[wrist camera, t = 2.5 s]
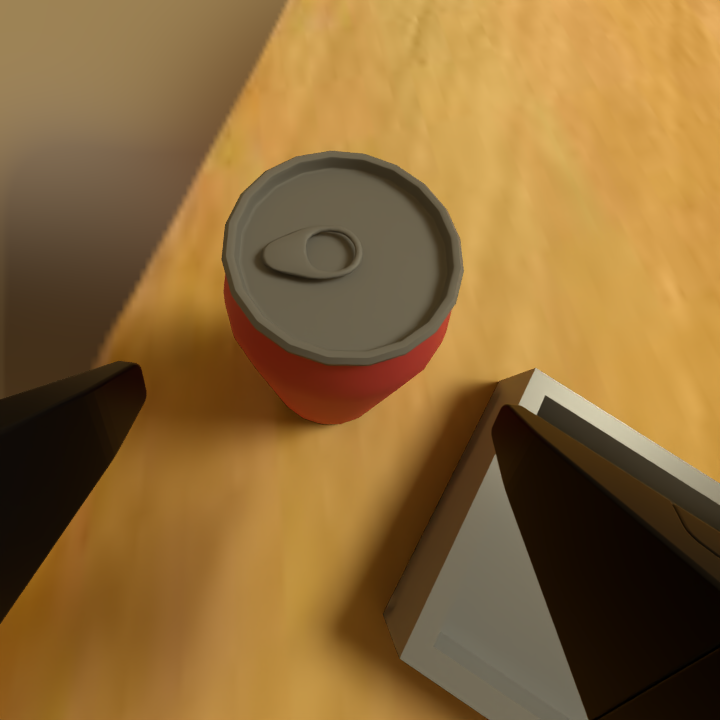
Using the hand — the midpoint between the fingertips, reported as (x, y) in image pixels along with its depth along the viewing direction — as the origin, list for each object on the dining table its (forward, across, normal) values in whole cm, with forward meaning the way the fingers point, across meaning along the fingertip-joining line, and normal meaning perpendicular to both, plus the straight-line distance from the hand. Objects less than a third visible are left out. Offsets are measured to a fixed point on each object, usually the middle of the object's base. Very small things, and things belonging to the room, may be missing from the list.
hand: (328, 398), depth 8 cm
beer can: (+10, 0, +5) cm, 11 cm away
